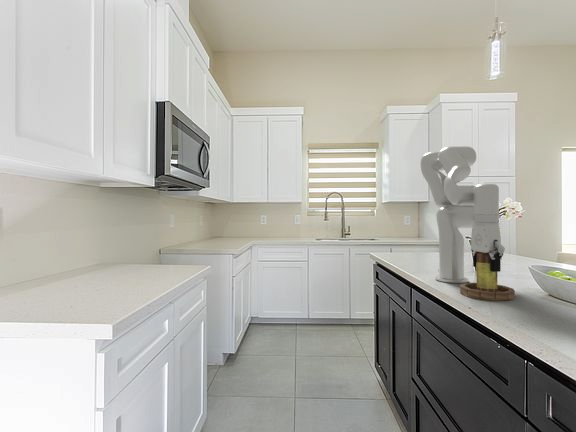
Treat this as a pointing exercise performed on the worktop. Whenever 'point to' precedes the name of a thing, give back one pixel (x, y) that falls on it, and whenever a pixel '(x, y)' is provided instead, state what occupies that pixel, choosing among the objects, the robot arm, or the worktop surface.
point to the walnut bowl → (501, 294)
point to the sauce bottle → (485, 273)
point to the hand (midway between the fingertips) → (486, 269)
